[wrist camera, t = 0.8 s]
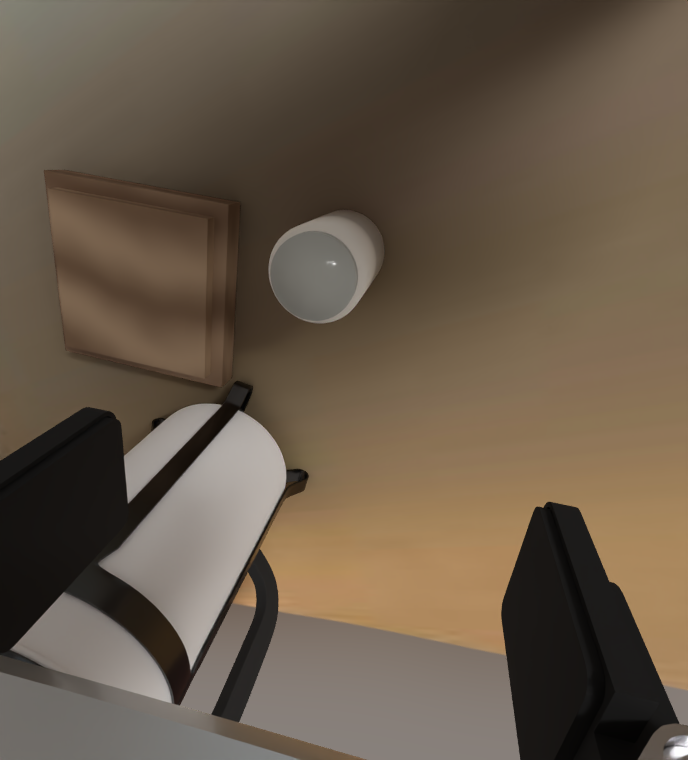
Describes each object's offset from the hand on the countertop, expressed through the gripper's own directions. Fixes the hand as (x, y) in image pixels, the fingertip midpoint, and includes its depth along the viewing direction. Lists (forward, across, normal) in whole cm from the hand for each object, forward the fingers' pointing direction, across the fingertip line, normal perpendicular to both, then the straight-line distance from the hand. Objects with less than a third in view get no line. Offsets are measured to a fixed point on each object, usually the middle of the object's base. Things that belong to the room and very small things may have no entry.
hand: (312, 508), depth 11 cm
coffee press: (+27, +12, +18) cm, 34 cm away
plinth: (+26, +20, +3) cm, 33 cm away
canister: (+26, +4, -2) cm, 26 cm away
